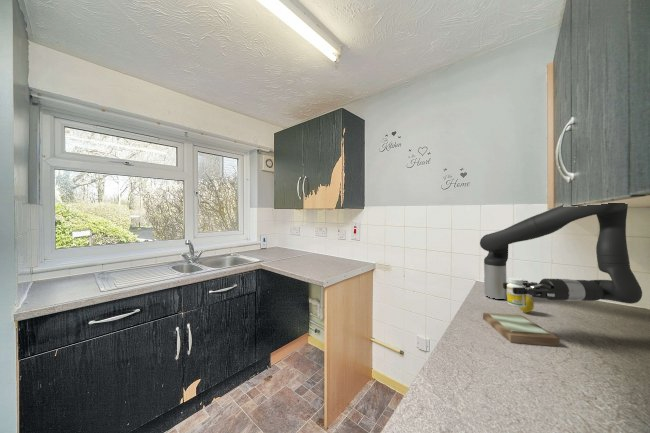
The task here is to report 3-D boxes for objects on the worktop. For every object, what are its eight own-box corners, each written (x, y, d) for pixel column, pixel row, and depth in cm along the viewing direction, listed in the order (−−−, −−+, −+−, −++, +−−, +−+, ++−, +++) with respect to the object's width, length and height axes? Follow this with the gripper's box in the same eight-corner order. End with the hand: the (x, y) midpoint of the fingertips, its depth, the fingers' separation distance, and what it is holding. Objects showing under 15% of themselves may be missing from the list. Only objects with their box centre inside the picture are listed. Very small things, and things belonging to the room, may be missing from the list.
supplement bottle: (516, 308, 80) (515, 281, 80) (503, 302, 85) (502, 277, 85) (530, 307, 80) (529, 280, 81) (516, 301, 86) (515, 276, 86)
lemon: (534, 316, 94) (534, 297, 94) (517, 313, 98) (517, 295, 98) (533, 312, 99) (532, 294, 99) (516, 309, 102) (516, 291, 102)
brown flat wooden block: (482, 318, 93) (482, 311, 93) (521, 321, 91) (521, 313, 91) (510, 342, 75) (510, 333, 75) (559, 346, 73) (559, 336, 73)
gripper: (545, 274, 88) (496, 273, 91) (579, 284, 73) (521, 283, 76) (545, 293, 87) (497, 292, 90) (580, 307, 73) (521, 305, 76)
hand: (508, 288), depth 83 cm, fingers closed on supplement bottle, 5 cm apart
